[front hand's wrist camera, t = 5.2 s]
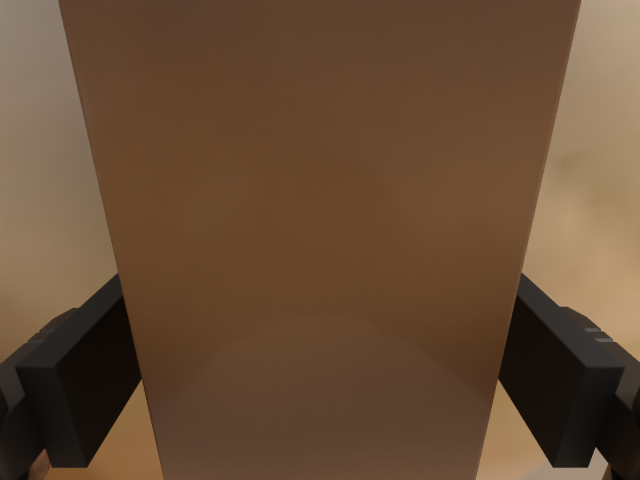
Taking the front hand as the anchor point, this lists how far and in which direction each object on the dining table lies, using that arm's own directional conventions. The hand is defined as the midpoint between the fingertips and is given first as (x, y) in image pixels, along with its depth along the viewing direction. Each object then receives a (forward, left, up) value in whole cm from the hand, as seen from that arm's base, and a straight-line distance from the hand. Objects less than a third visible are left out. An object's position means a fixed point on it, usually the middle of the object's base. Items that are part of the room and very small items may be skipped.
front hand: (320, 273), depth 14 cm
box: (+5, +5, -1) cm, 8 cm away
